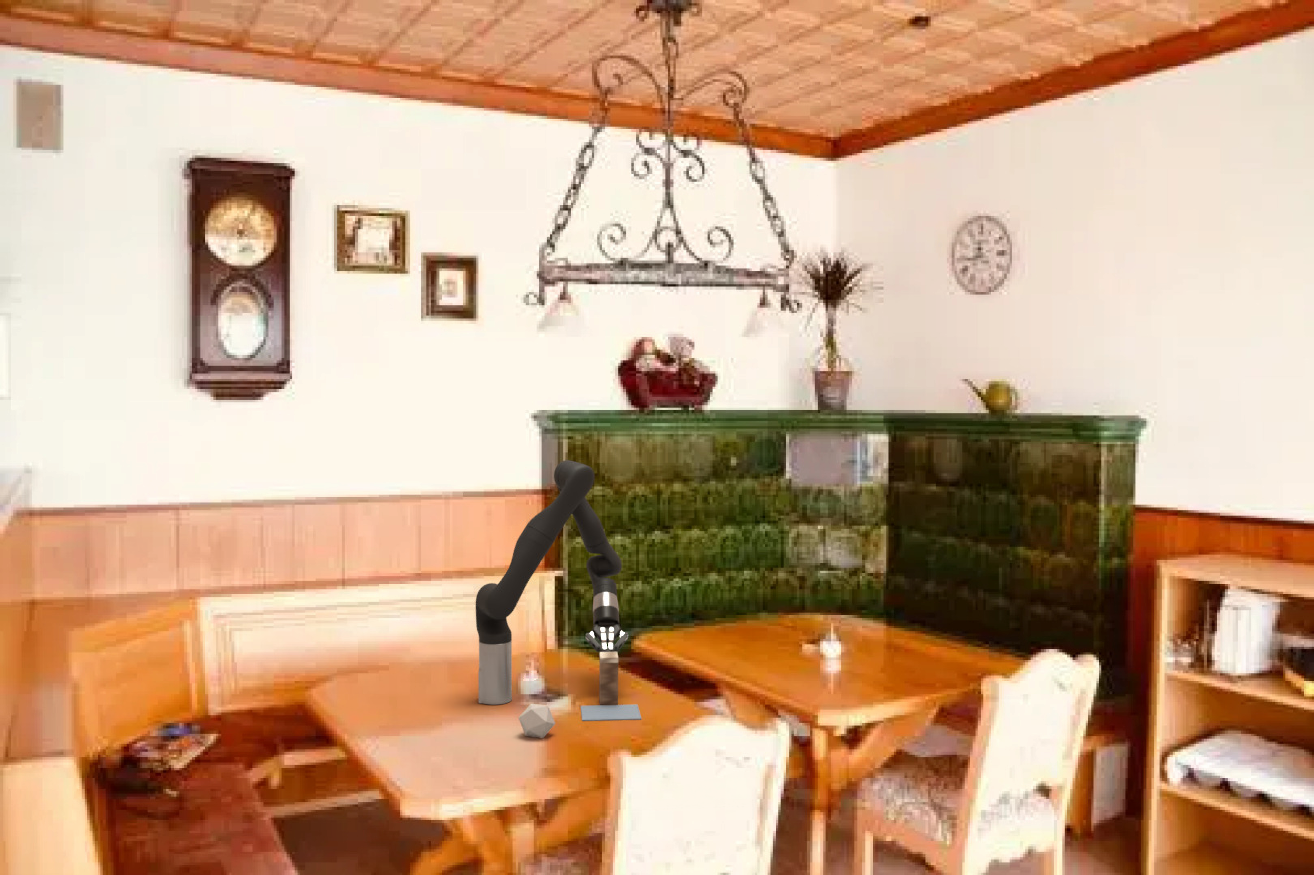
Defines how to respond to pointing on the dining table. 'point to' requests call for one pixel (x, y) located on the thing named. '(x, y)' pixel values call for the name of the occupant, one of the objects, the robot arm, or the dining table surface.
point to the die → (536, 720)
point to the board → (610, 712)
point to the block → (608, 678)
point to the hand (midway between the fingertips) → (608, 663)
